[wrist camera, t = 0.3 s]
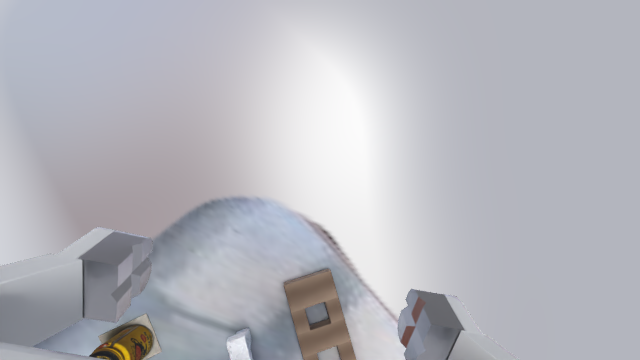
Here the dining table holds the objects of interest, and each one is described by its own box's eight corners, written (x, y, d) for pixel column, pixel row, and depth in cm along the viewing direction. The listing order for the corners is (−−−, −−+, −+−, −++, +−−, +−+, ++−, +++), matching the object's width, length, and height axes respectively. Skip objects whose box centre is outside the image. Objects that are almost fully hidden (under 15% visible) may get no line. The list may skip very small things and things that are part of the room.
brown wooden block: (361, 383, 59) (365, 391, 56) (315, 400, 58) (317, 410, 55) (328, 268, 62) (330, 270, 59) (283, 282, 60) (283, 285, 57)
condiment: (162, 351, 56) (130, 384, 45) (114, 375, 55) (68, 415, 43) (147, 313, 57) (111, 335, 45) (99, 335, 56) (50, 365, 44)
